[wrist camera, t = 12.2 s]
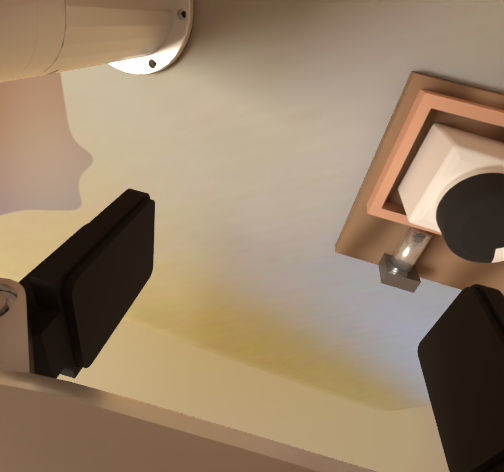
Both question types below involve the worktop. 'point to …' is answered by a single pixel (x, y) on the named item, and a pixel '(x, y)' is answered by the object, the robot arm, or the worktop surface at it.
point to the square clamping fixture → (392, 173)
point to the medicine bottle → (458, 192)
